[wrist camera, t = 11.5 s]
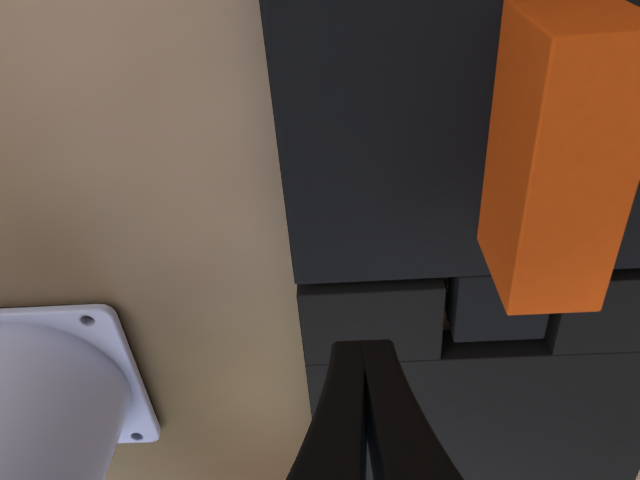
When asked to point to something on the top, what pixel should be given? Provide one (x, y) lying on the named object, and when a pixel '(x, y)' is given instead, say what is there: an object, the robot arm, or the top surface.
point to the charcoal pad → (461, 149)
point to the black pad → (499, 378)
